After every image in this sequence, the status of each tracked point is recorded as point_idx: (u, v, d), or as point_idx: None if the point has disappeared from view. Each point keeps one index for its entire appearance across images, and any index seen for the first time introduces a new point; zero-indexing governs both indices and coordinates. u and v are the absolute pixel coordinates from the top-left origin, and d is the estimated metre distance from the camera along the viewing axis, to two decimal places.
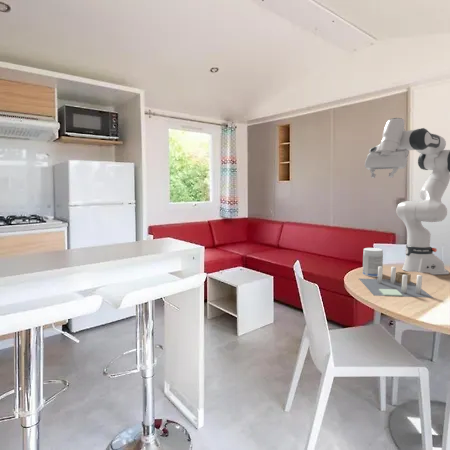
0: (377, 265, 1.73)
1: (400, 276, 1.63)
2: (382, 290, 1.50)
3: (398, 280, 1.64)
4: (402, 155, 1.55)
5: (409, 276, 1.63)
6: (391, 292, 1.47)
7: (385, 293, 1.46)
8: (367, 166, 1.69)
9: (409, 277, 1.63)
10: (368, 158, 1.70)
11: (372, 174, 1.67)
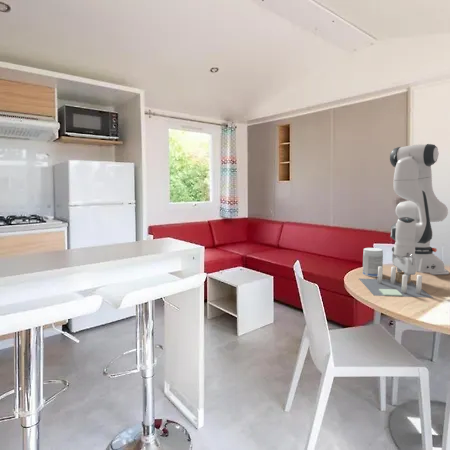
0: (377, 265, 1.73)
1: (400, 276, 1.63)
2: (382, 290, 1.50)
3: (398, 280, 1.64)
4: (407, 263, 1.55)
5: (409, 276, 1.63)
6: (391, 292, 1.47)
7: (385, 293, 1.46)
8: (393, 264, 1.73)
9: (409, 277, 1.63)
10: (393, 256, 1.72)
11: None
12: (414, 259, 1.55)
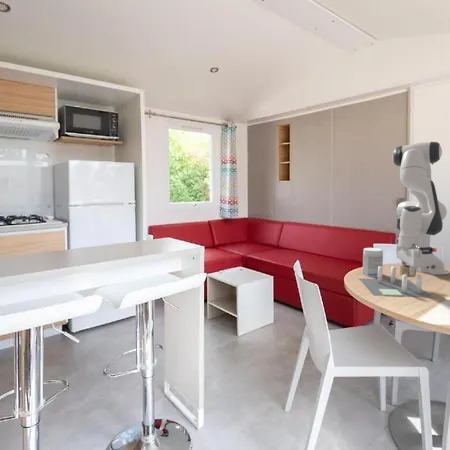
0: (377, 265, 1.73)
1: (405, 269, 1.52)
2: (382, 290, 1.50)
3: (403, 274, 1.53)
4: (413, 255, 1.44)
5: (415, 269, 1.51)
6: (391, 292, 1.47)
7: (385, 293, 1.46)
8: (398, 257, 1.61)
9: (415, 270, 1.51)
10: (397, 248, 1.61)
11: None
12: (421, 251, 1.44)
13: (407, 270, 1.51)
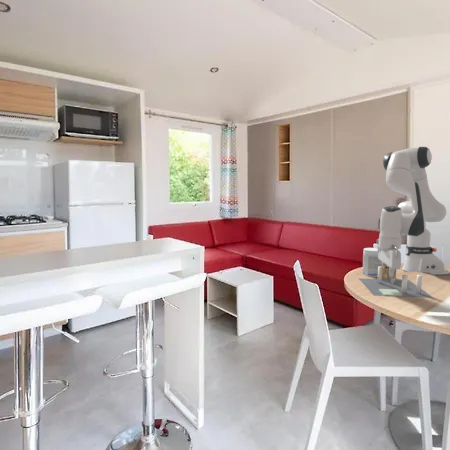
0: (377, 265, 1.73)
1: (384, 271, 1.48)
2: (382, 290, 1.50)
3: (382, 275, 1.49)
4: (391, 256, 1.41)
5: (394, 271, 1.48)
6: (391, 292, 1.47)
7: (385, 293, 1.46)
8: (378, 258, 1.58)
9: (394, 272, 1.48)
10: (378, 249, 1.58)
11: None
12: (399, 252, 1.40)
13: (386, 271, 1.48)
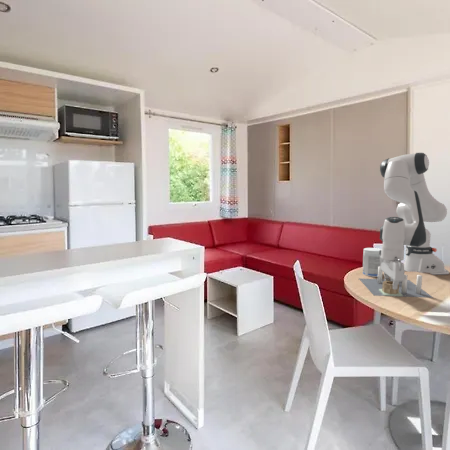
0: (377, 265, 1.73)
1: (387, 286, 1.46)
2: None
3: (385, 290, 1.47)
4: (395, 269, 1.38)
5: None
6: None
7: (385, 293, 1.46)
8: (381, 269, 1.55)
9: None
10: (380, 260, 1.55)
11: (385, 279, 1.52)
12: (403, 264, 1.38)
13: (389, 287, 1.45)
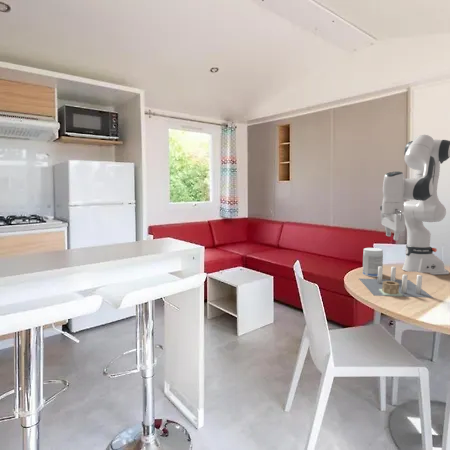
0: (377, 265, 1.73)
1: (387, 286, 1.46)
2: None
3: (385, 290, 1.47)
4: (395, 219, 1.44)
5: (397, 286, 1.46)
6: None
7: (385, 293, 1.46)
8: (382, 224, 1.62)
9: (397, 287, 1.46)
10: (381, 215, 1.61)
11: (386, 233, 1.59)
12: (403, 215, 1.44)
13: (389, 287, 1.45)
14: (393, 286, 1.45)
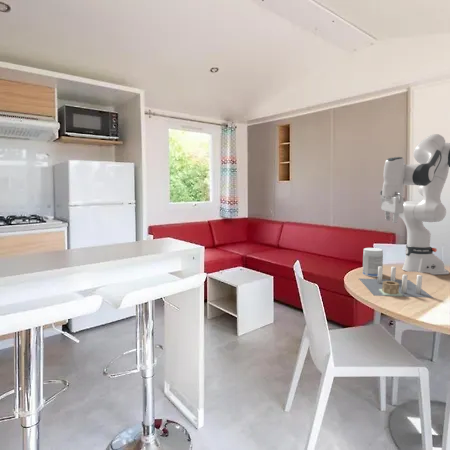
0: (377, 265, 1.73)
1: (387, 286, 1.46)
2: None
3: (385, 290, 1.47)
4: (395, 202, 1.50)
5: (397, 286, 1.46)
6: None
7: (385, 293, 1.46)
8: (382, 209, 1.67)
9: (397, 287, 1.46)
10: (381, 200, 1.67)
11: (385, 217, 1.64)
12: (402, 197, 1.50)
13: (389, 287, 1.45)
14: (393, 286, 1.45)
